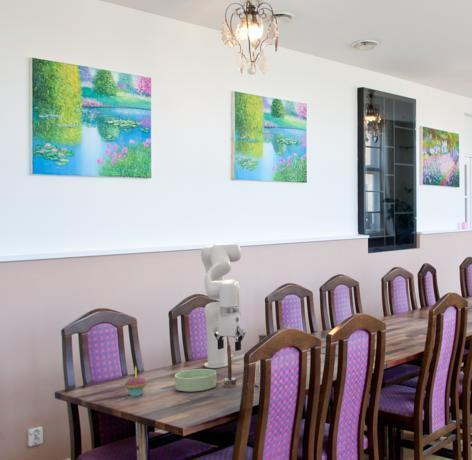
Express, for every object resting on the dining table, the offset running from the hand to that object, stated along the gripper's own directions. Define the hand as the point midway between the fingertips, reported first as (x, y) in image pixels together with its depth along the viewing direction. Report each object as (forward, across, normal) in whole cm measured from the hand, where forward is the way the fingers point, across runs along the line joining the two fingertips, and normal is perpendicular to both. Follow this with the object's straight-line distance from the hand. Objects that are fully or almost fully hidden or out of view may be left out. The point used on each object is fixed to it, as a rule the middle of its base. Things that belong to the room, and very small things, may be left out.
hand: (229, 349), depth 280 cm
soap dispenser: (+16, -13, -8) cm, 22 cm away
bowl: (+16, +12, +8) cm, 22 cm away
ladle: (+16, 0, 0) cm, 16 cm away
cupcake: (+16, +27, +27) cm, 42 cm away
